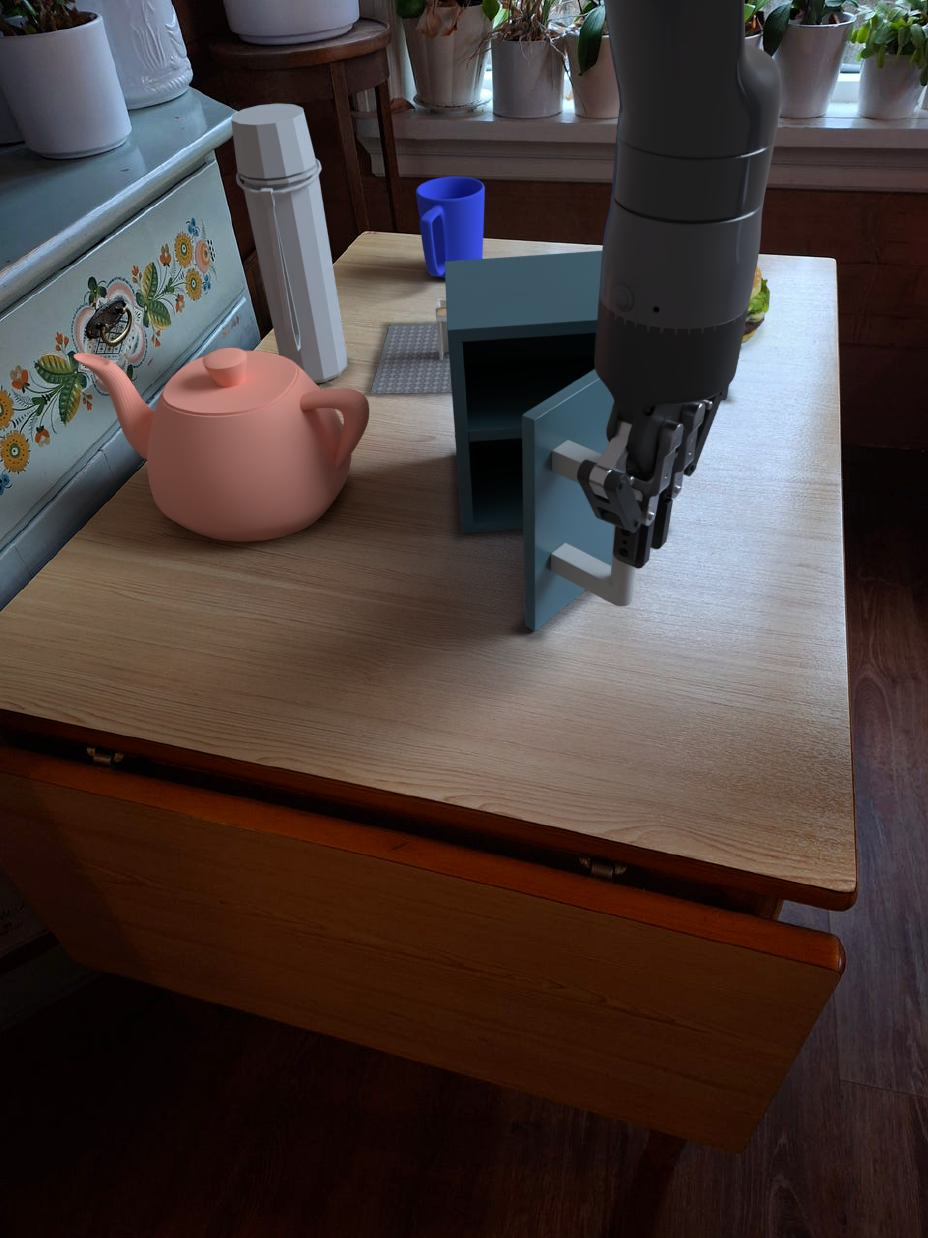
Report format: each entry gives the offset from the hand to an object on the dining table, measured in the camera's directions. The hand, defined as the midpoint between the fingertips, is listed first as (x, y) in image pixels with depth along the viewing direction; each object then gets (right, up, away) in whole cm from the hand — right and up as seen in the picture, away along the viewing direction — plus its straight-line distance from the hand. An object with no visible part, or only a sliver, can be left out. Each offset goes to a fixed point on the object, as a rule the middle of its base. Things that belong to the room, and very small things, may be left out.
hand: (639, 550), depth 58 cm
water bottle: (-27, +22, +39) cm, 52 cm away
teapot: (-30, +7, +24) cm, 39 cm away
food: (+15, +28, +42) cm, 52 cm away
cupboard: (-3, +7, +22) cm, 23 cm away
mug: (-13, +38, +56) cm, 69 cm away
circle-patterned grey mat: (-10, +24, +40) cm, 48 cm away
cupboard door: (+1, -2, +11) cm, 11 cm away
